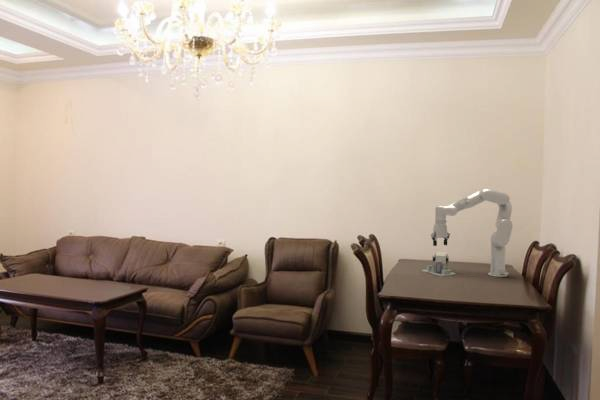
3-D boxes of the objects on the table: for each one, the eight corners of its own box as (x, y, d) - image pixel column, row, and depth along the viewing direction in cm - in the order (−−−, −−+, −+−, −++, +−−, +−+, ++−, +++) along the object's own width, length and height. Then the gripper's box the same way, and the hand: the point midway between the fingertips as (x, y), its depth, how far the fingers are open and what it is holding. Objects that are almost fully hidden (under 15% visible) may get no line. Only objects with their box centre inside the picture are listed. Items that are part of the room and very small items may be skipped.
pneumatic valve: (448, 269, 356) (448, 254, 356) (432, 269, 359) (432, 253, 359) (447, 268, 361) (448, 253, 361) (432, 267, 364) (432, 252, 364)
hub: (445, 271, 340) (446, 263, 340) (438, 271, 338) (438, 263, 338) (439, 269, 347) (439, 261, 347) (432, 270, 344) (432, 262, 344)
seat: (455, 274, 336) (455, 267, 336) (439, 275, 330) (440, 268, 330) (437, 270, 354) (437, 262, 354) (422, 271, 349) (422, 263, 349)
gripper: (446, 221, 348) (446, 244, 349) (427, 222, 342) (427, 245, 342) (453, 222, 342) (453, 245, 342) (434, 223, 335) (434, 246, 335)
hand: (440, 245), depth 342 cm, fingers open, 9 cm apart
